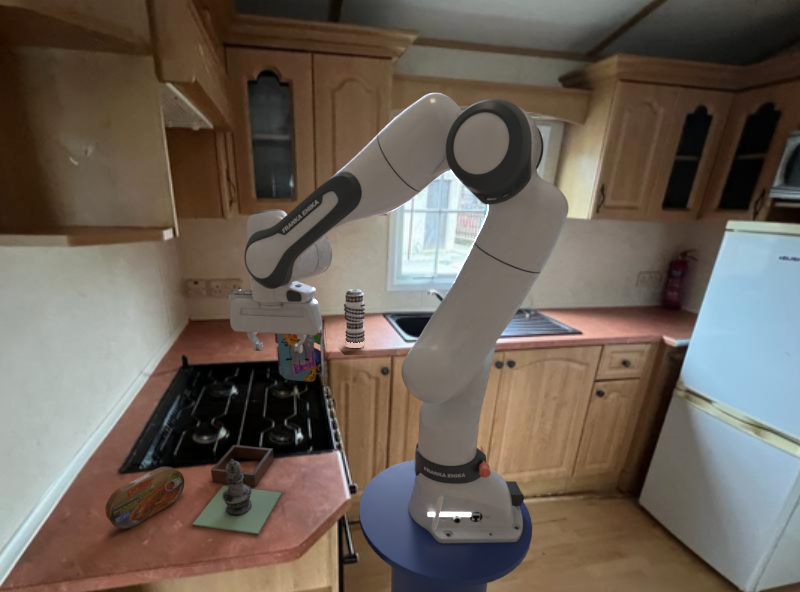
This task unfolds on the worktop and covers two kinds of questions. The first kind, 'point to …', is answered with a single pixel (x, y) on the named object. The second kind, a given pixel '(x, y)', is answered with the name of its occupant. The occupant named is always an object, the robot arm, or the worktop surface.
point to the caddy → (247, 453)
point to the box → (301, 357)
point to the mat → (244, 523)
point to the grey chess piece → (236, 491)
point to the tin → (144, 497)
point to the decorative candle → (354, 316)
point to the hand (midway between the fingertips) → (278, 351)
